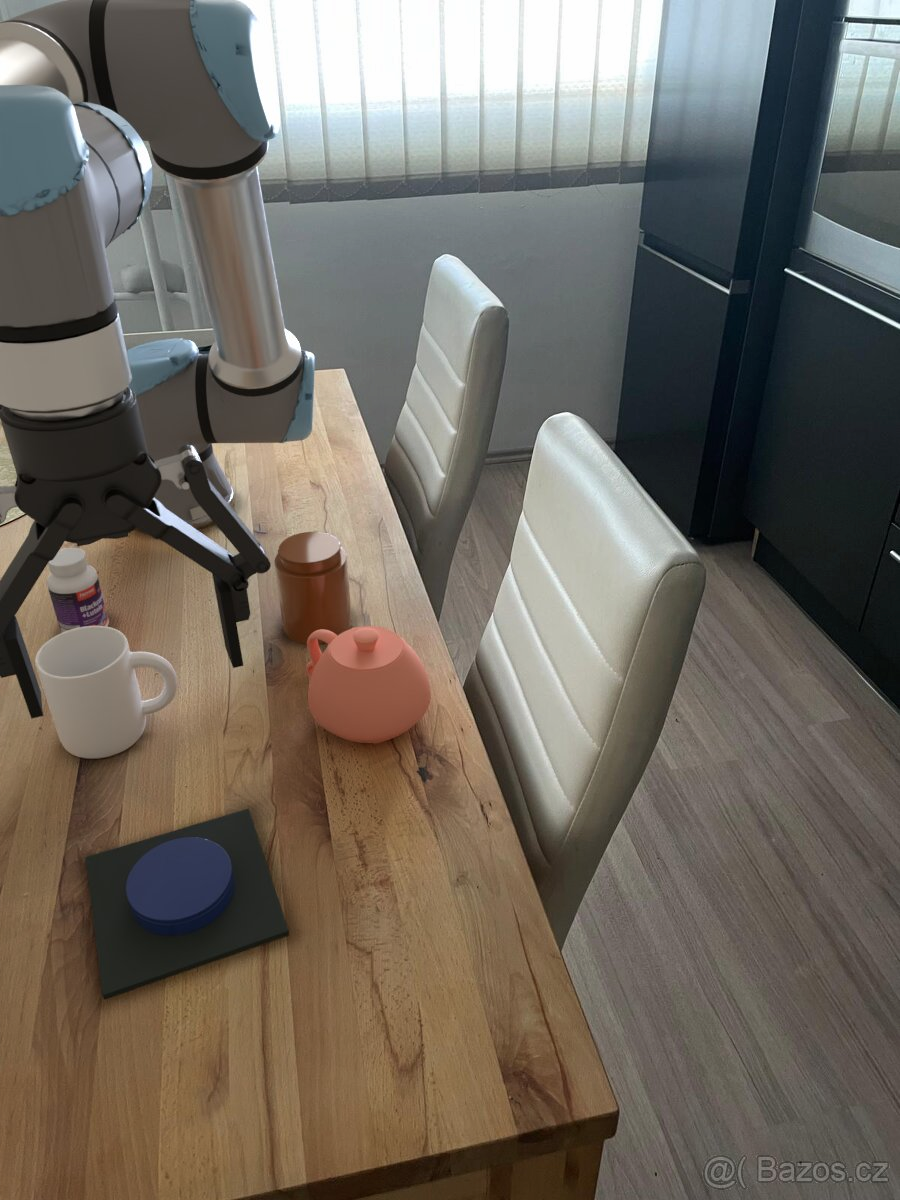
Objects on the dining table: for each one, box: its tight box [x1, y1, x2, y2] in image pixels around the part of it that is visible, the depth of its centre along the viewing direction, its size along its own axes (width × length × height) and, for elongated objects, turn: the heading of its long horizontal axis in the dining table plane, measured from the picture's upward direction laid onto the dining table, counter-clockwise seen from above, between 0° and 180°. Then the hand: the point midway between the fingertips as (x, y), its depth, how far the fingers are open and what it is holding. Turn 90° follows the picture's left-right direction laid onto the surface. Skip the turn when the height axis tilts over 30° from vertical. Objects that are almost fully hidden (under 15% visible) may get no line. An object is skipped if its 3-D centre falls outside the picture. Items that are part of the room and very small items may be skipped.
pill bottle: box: [46, 547, 110, 634], centre depth 104 cm, size 5×5×10 cm
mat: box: [85, 808, 290, 1000], centre depth 75 cm, size 14×14×1 cm
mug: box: [34, 626, 179, 760], centre depth 89 cm, size 12×8×10 cm
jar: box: [274, 531, 353, 645], centre depth 104 cm, size 8×8×10 cm
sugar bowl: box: [305, 625, 432, 744], centre depth 91 cm, size 12×14×10 cm
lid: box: [126, 837, 235, 936], centre depth 74 cm, size 8×8×2 cm
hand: (138, 680), depth 65 cm, fingers open, 13 cm apart
